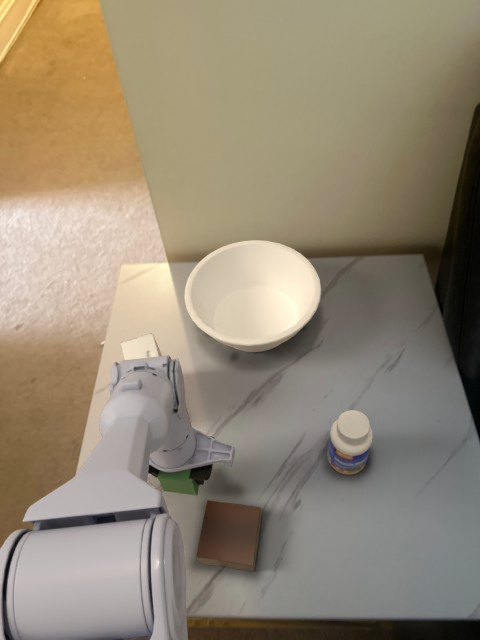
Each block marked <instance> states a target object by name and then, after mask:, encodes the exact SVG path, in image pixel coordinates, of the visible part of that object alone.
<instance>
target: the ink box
mask: <svg viewBox="0 0 480 640" xmlns="http://www.w3.org/2000/svg"><path fill="white" fill-rule="evenodd" d="M120 347H121V351H122V356H123V360H131V359H140V358H149V357H158V356H163V354H162V353H161V350H160V348H159V344H158V343H157V340H156V337H155V335H154V334H153V333H152V332H149V333H147V334H143V335H140V336H137V337H134V338H130V339H127V340H124V341H122V342H120Z"/></svg>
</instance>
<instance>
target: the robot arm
mask: <svg viewBox="0 0 480 640" xmlns="http://www.w3.org/2000/svg"><path fill="white" fill-rule="evenodd" d="M108 390H109V395H110V396H109V397H108V400H107V402H106V403H105V405H104V407H103V408H102V411H101V413H100V416H99V421H98V428H99V433H100V436H101V438H100V439H99V441H98V443H97V444H96V445H95V446H94V448H93V449H92V451H91V452H90V453H89V455H88V456H87V458H86V460H85V461H84V462H83V464H82V465H81V466H80V468H79V469H78V471H77V472H76V474H75V475H74V476H73V477H72V478H71V479H70V480H68V481H66V482H65V483H63V484H62V485H60V486H58V487H57V488H55V489H54V490H53V491H51V492H49V493H48V494H46V495H45V496H43V497H41V498H39V500H37V501H35V502H34V503H32V504H31V505H30V506H28V508H27V510H26V512H25V514H24V517H23V518H22V523H30V524H32V525H33V528H32V529H30V528H21V529H16V530H13V532H11V533H10V534H9V535H8V536H7V538H6V539H5V541H4V542H3V544H2V545H1V547H0V640H189V633H188V618H187V617H188V616H187V568H186V567H187V566H186V556H185V545H184V540H183V535H182V530H181V528H180V525H179V523H178V522H177V521H176V520H174V519H173V517H172V516H171V514H170V512H169V509H168V505H167V501H166V499H165V497H164V495H163V493H162V492H161V491H160V490H159V489H157V488H156V487H154V486H153V485H152V484H150V483H148V479H149V475H151V476H153V477H155V478H156V479H158V474H159V470H161V471H164V472H177V471H182V470H187V469H191V470H190V475H189V479H195V480H196V483H197V484H198V485H199V486H204V485H205V481H209V480H210V477H211V475H212V471H213V467H214V464H215V465H216V464H221V463H222V464H223V466H224V467H228V468H233V466H234V460H235V454H236V449H235V444H231V443H226V442H223V441H221V440H219V439H217V438H216V437H214V436H211V435H208V434H206V433H205V432H202V431H200V430H198V429H196V428H194V427H193V426H192V421H191V419H190V416H189V412H188V410H187V407H186V392H185V381H184V375H183V370H182V366H181V363H180V360H179V358H174V359H172V357H171V355H169V354H168V355H162V356H158V357H149V358H140V359H131V360H124V359H123V360H121V362H120V363H119V362H118V361H115V362H113V363H112V366H111V372H110V383H109V388H108Z"/></svg>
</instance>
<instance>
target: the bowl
mask: <svg viewBox="0 0 480 640" xmlns="http://www.w3.org/2000/svg"><path fill="white" fill-rule="evenodd" d="M321 296H322V285H321V280H320V277H319V275H318V272H317V269H316V268H315V267H314V266H313V264H312V263H311V262H310V260H309V259H308V258H306V257H305V256H304V255H303V254H302V253H301V252H299V251H297V250H296V249H294V248H292V247H290V246H287V245H285V244H282V243H279V242H275V241H270V240H260V239H259V240H258V239H254V240H253V239H252V240H242V241H237V242H233V243H229V244H227V245H224V246H222V247H218V248H217V249H216V250H214V251H213V250H212V251H211V252H210V253H208V254H207V255H206V256H205V257H203V258H202V259H201V260H200V261H199V262H198V263H197V264H196V265H195V267H194V268H193V269H192V271H191V273H190V274H189V276H188V278H187V281H186V284H185V287H184V304H185V307H186V311H187V313H188V315H189V316H190V319H191V320H192V321H193V323H195V325H196V326H197V327H198V328H199V329H200V330H201V331H202V332H204V333H205V334H206V335H208V336H209V337H211V338H212V339H214V340H215V341H216V342H219V343H220V344H222V345H225V346H227V347H230V348H233V349H235V350H238V351H241V352H245V353H246V352H247V353H260V352H265V351H270V350H272V349H274V348H277V347H278V346H280V345H282V344H283V343H285V342H287V341H289V340H290V339H292V338H293V337H295V336H296V335H297V334H298V333H299V332H300V331H301V330H302V329H303V328H304V327H305V326H306V325H307V324H308V323H309V322H310V321H311V320H312V318H313V316H314V315H315V313H316V312H317V310H318V307H319V304H320V302H321V299H322V298H321Z"/></svg>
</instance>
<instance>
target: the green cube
mask: <svg viewBox="0 0 480 640" xmlns="http://www.w3.org/2000/svg"><path fill="white" fill-rule="evenodd" d="M190 470H191V469H187V470H182V471H177V472H164V471H161V470H159V474H158V478H157V480H158V482H159V484H160V486H161V488H162V490H163V492H168V493H174V494H175V493H176V494H183V495H189V496H190V495H191V496H198V495H199V490H200V485H198V484H197V483H196V480H195V479H189V475H190Z"/></svg>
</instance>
